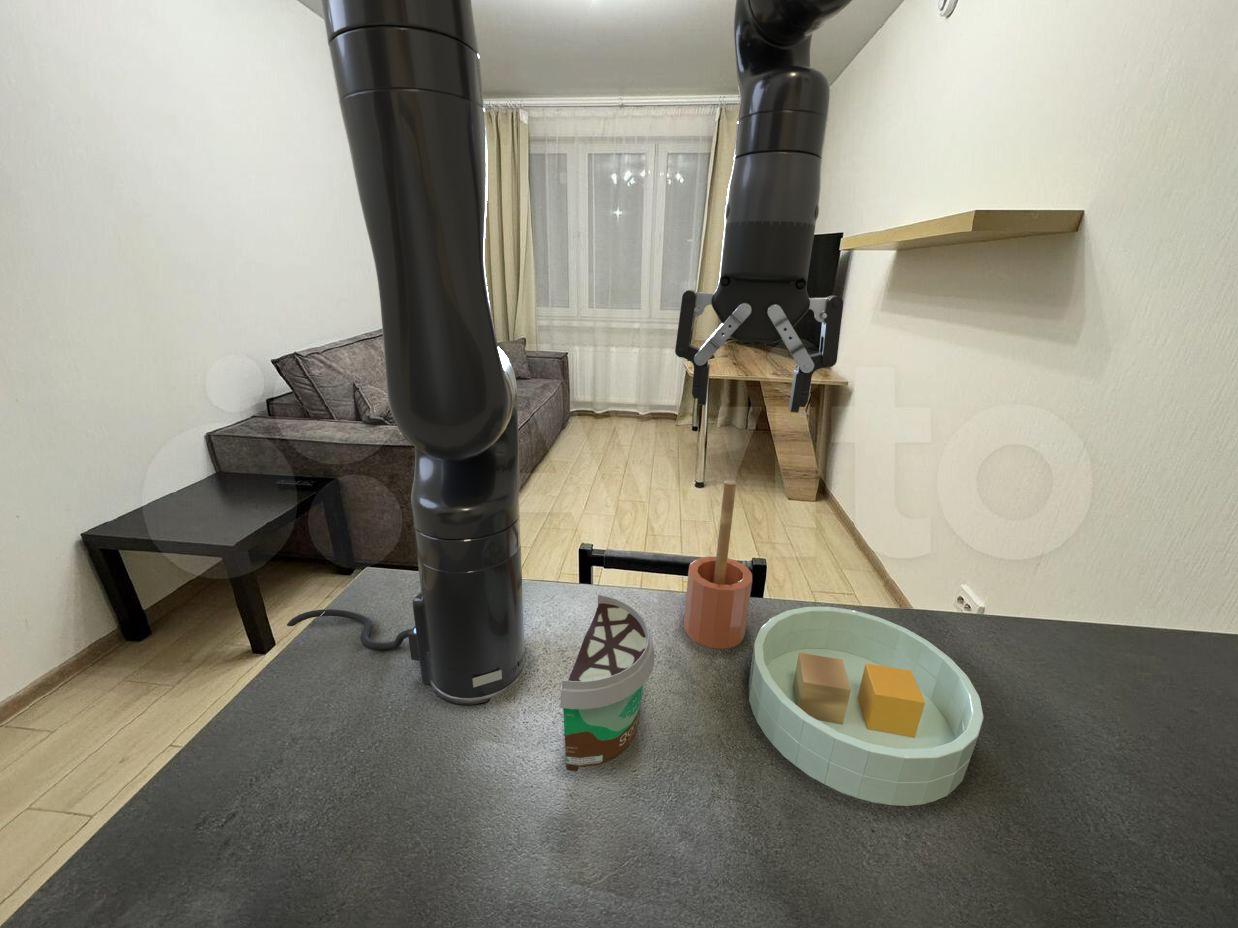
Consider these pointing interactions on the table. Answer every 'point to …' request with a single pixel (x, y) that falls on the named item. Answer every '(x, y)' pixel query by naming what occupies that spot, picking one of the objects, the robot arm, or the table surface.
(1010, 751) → the table surface
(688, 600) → the cup
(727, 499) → the stirring stick
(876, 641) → the bowl
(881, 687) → the mustard block
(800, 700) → the pine block
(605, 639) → the food container
